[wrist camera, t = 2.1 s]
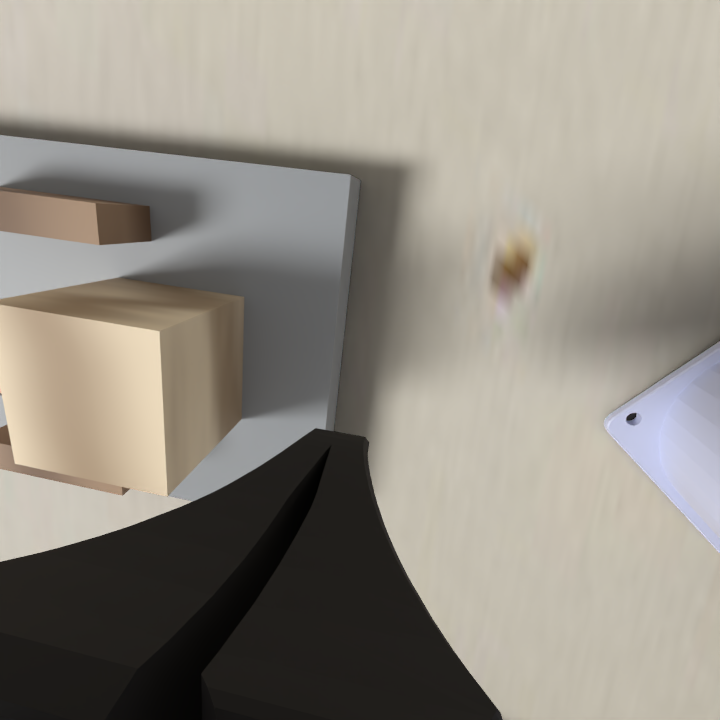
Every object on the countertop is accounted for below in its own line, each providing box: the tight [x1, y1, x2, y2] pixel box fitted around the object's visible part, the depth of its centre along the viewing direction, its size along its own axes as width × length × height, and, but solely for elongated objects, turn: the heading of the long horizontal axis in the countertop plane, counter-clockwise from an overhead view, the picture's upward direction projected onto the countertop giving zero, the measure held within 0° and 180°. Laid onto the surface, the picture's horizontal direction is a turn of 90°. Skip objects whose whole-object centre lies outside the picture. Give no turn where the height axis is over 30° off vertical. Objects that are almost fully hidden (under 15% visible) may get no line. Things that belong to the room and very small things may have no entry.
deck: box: [0, 135, 361, 501], centre depth 18 cm, size 27×14×2 cm, turn 83°
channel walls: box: [0, 187, 151, 495], centre depth 15 cm, size 6×10×2 cm, turn 173°
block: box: [0, 278, 244, 497], centre depth 14 cm, size 5×5×5 cm
